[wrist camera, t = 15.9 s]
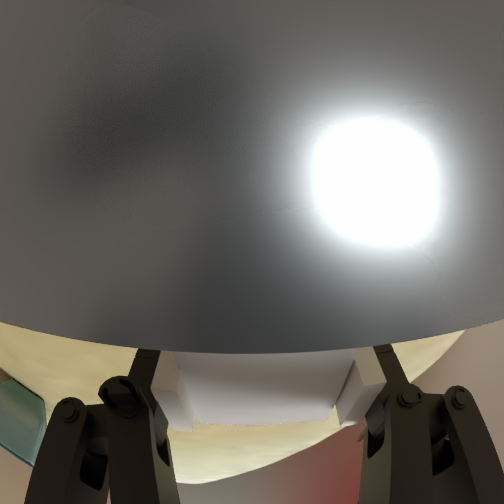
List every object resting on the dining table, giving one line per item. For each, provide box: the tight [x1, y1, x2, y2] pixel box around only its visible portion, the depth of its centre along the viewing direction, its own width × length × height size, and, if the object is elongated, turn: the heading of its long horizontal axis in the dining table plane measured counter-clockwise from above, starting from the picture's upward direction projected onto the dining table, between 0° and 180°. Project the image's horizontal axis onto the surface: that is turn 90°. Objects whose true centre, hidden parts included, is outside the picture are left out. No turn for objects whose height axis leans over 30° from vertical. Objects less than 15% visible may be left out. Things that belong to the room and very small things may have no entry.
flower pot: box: [0, 379, 47, 468], centre depth 18 cm, size 9×9×9 cm
